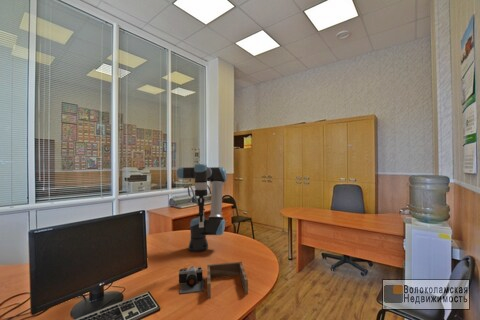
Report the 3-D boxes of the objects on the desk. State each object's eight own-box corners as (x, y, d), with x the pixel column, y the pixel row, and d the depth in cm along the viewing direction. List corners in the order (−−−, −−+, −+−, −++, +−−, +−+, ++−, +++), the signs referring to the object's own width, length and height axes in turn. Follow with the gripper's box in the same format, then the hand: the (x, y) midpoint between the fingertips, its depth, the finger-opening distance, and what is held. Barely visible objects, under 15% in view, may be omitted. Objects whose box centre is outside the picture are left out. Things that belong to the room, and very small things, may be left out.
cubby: (207, 277, 125) (207, 264, 125) (241, 273, 128) (241, 261, 128) (207, 298, 105) (207, 283, 105) (248, 293, 108) (247, 279, 108)
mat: (182, 279, 123) (182, 278, 123) (204, 277, 124) (204, 276, 124) (179, 294, 109) (179, 292, 109) (203, 291, 111) (203, 290, 111)
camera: (177, 289, 112) (178, 272, 112) (178, 281, 119) (179, 265, 120) (202, 288, 114) (203, 270, 115) (202, 280, 122) (203, 264, 122)
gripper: (195, 187, 144) (196, 219, 144) (193, 192, 119) (194, 230, 119) (207, 186, 145) (207, 218, 145) (207, 191, 120) (207, 229, 120)
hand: (201, 224), depth 132 cm, fingers open, 13 cm apart
